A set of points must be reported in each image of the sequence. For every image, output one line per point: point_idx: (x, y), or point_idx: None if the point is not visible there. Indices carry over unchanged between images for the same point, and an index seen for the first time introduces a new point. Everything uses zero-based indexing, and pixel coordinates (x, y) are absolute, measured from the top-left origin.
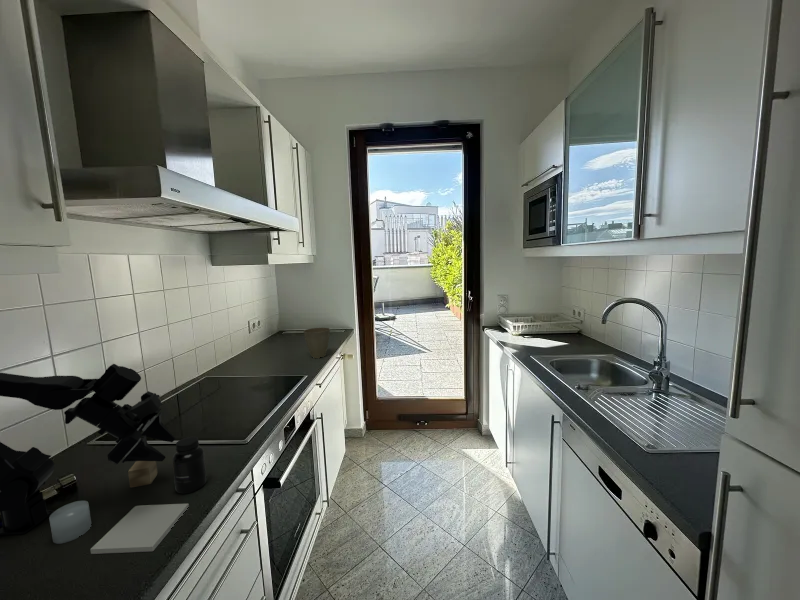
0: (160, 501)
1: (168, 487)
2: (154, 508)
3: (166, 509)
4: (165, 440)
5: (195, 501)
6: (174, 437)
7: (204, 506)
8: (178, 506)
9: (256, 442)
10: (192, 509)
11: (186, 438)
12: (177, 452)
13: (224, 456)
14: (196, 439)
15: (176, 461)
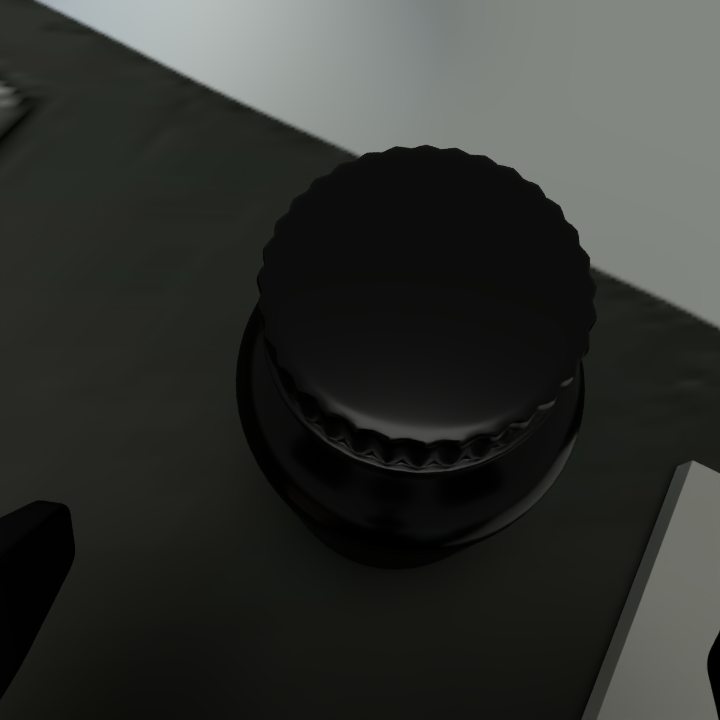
0: (494, 676)
1: (313, 628)
2: (651, 712)
3: (703, 613)
4: (9, 670)
5: (618, 427)
6: (31, 507)
7: (704, 373)
8: (701, 527)
9: (61, 52)
10: (707, 444)
11: (314, 292)
12: (499, 457)
13: (107, 241)
14: (440, 162)
15: (545, 492)
